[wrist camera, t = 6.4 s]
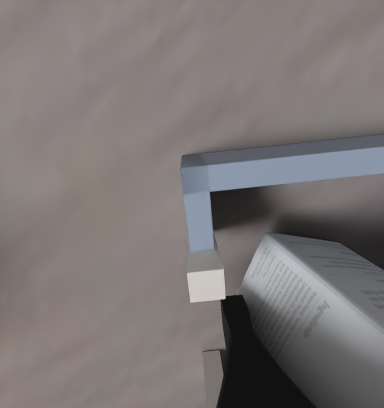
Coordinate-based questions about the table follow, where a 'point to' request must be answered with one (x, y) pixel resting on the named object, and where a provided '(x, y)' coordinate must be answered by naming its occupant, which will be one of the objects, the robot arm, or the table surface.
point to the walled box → (254, 177)
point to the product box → (320, 318)
